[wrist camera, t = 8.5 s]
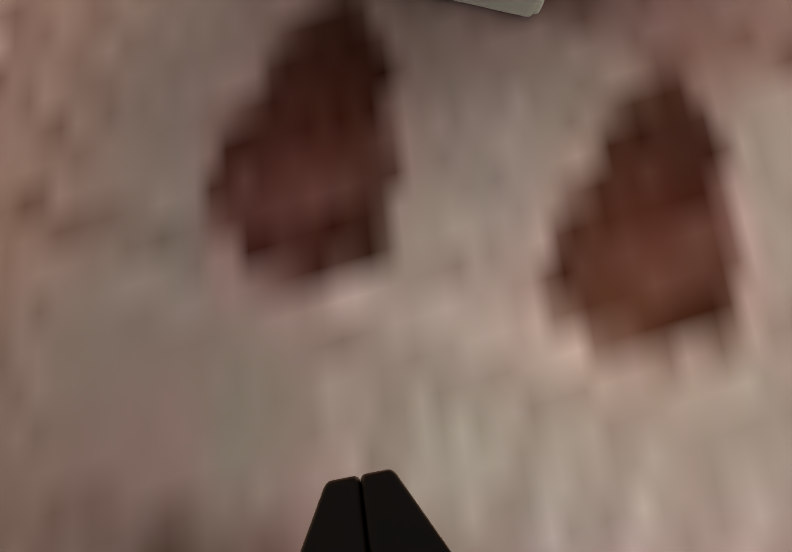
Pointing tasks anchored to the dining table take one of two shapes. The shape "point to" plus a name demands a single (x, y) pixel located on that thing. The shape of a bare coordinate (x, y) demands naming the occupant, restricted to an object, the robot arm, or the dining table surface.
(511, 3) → the medicine box
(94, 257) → the dining table surface
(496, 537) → the dining table surface
